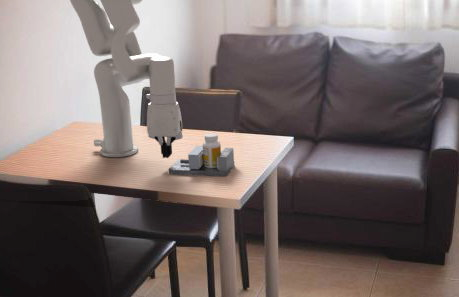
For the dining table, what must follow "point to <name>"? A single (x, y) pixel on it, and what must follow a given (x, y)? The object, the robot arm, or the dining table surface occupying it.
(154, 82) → the robot arm
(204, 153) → the supplement bottle
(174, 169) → the vise bed
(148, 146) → the dining table surface
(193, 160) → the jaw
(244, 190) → the dining table surface
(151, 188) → the dining table surface
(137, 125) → the dining table surface
